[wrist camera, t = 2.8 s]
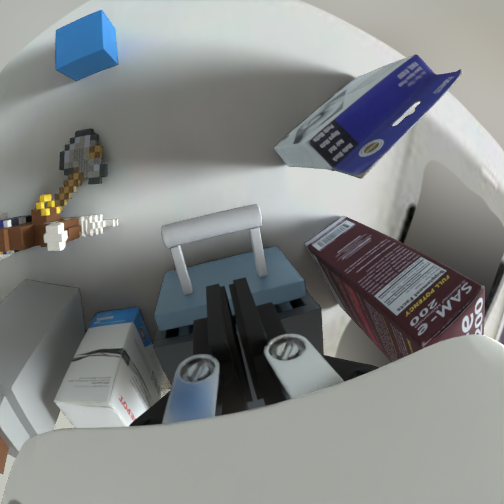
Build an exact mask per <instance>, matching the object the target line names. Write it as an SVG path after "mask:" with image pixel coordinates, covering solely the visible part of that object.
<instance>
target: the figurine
mask: <svg viewBox="0 0 504 504" xmlns="http://www.w3.org/2000/svg"><path fill="white" fill-rule="evenodd" d="M102 152H103V146H101V145H99V146H98V135H97V134H93V130H92V129H87V130H81V131H76V133H75V138H70V144H69V145H65V151H62V152H60V166H59V170H64V175H69V180H68V181H64V187H61V188H59V194H55V200H54V201H51V194H46V195H39V199H40V202H37V203H36V209H35V210H32V215H28V216H19V217H14V218H9V219H7V213H0V260H2V259H4V258H7V257H9V256H11V254H13V253H15V252H18V251H21V250H25V249H27V248H30V247H33V246H37V245H41V247H47V246H48V251H61V250H63V249H64V248H65V246H66V245H65V243H66V242H69V241H71V240H74V239H77V238H79V237H84V236H92V235H96V234H101V233H103V227H106V226H118V219H112V220H103V219H102V214H100V215H91V216H82V217H74V218H65V219H63V218H60V212H63V206H64V205H67V199H72V194H71V193H72V192H76V186H80V185H81V179H88V178H89V184H99V183H102V177H107V166H108V164H106V163H104V164H102ZM45 201H47V208H45V206H44V202H45Z"/></svg>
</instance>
